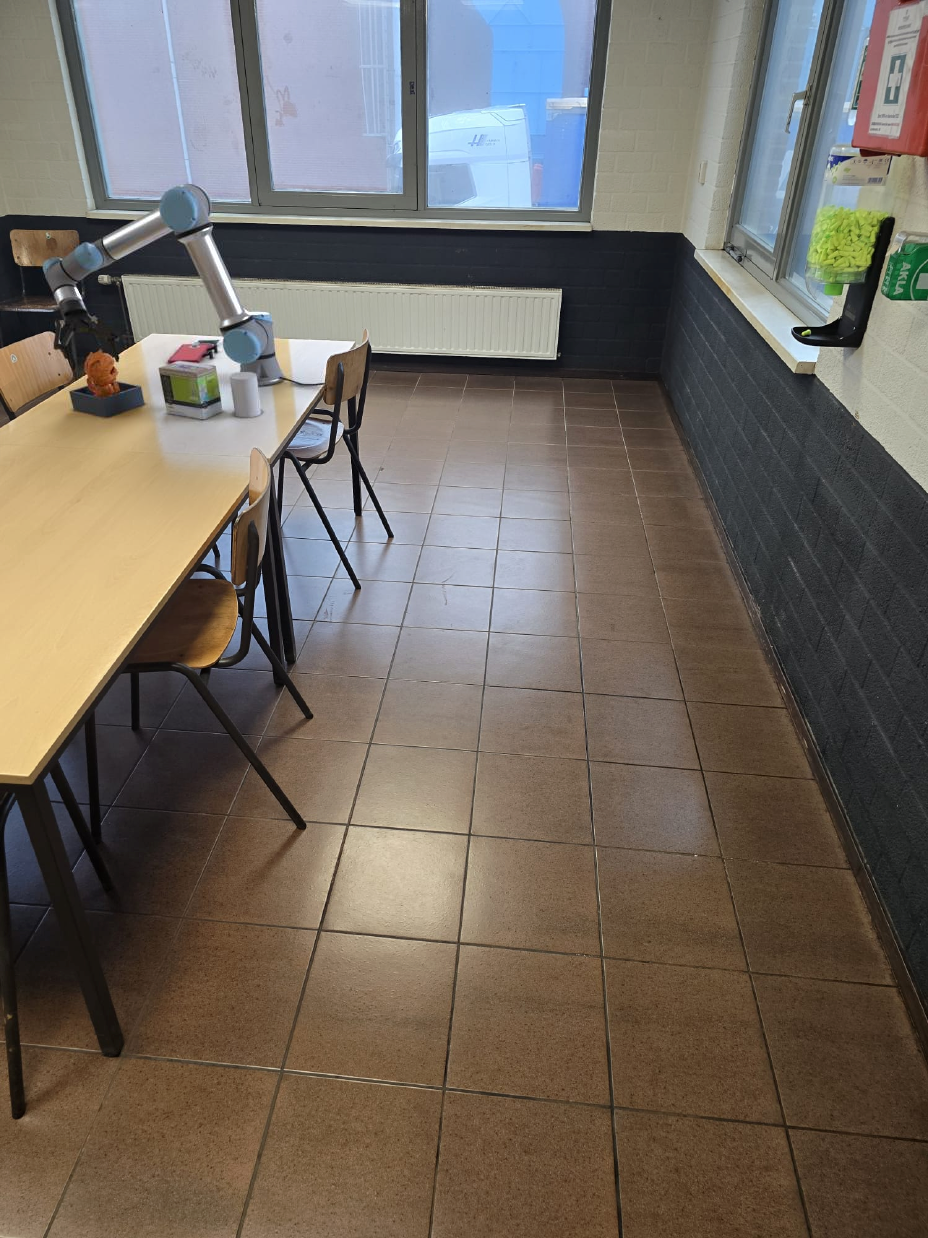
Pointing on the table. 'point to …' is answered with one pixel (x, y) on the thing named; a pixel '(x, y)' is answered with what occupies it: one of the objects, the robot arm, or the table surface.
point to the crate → (107, 400)
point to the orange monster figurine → (101, 374)
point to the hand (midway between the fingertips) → (96, 363)
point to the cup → (245, 394)
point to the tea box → (191, 389)
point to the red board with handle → (194, 351)
